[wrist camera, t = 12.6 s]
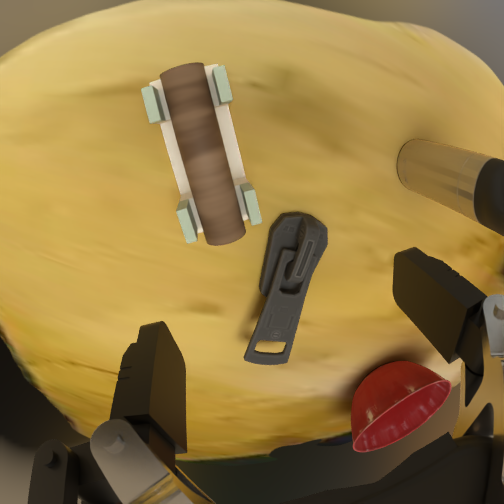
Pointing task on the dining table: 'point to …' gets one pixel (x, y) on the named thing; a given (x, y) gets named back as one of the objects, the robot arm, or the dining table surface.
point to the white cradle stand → (243, 188)
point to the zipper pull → (286, 282)
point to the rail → (203, 152)
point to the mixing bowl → (394, 403)
